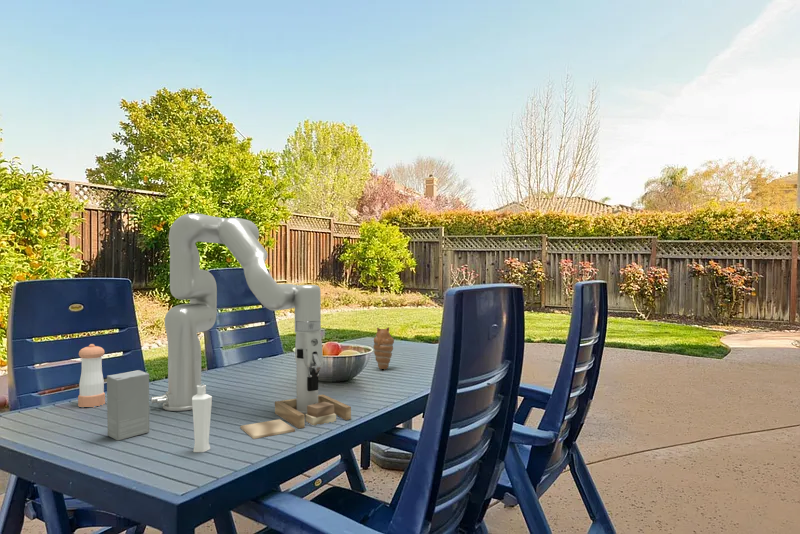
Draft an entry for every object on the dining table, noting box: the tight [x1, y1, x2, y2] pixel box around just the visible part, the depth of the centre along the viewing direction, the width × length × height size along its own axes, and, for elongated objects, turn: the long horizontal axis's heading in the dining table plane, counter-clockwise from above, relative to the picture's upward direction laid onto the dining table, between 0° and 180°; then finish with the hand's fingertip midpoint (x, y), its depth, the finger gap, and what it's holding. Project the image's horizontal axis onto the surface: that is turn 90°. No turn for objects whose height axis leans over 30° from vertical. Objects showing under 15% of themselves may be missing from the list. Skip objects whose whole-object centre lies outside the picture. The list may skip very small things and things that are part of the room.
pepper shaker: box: [77, 343, 106, 408], centre depth 163 cm, size 7×7×19 cm
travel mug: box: [296, 349, 319, 418], centre depth 152 cm, size 6×7×20 cm
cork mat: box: [239, 418, 296, 440], centre depth 137 cm, size 11×11×1 cm
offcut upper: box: [307, 402, 334, 418], centre depth 145 cm, size 6×4×2 cm
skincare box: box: [106, 369, 150, 441], centre depth 133 cm, size 8×7×16 cm
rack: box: [274, 394, 352, 430], centre depth 149 cm, size 16×18×4 cm
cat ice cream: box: [372, 326, 395, 370], centre depth 219 cm, size 9×8×18 cm
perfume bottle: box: [192, 384, 213, 453], centre depth 122 cm, size 5×4×15 cm
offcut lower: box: [305, 413, 337, 426], centre depth 144 cm, size 7×5×2 cm
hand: (307, 387), depth 152 cm, fingers closed on travel mug, 6 cm apart
